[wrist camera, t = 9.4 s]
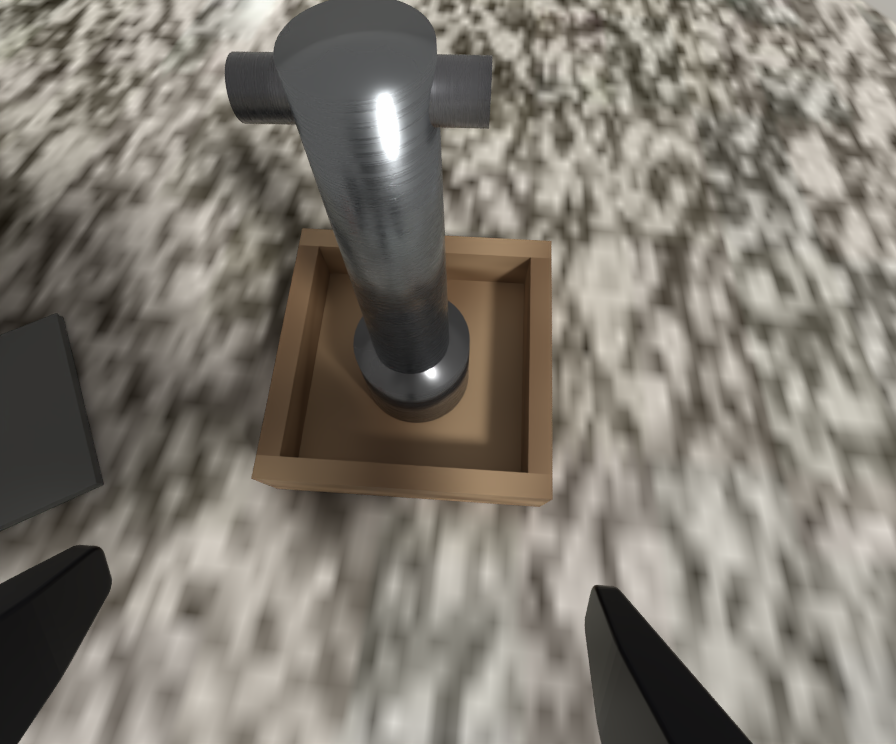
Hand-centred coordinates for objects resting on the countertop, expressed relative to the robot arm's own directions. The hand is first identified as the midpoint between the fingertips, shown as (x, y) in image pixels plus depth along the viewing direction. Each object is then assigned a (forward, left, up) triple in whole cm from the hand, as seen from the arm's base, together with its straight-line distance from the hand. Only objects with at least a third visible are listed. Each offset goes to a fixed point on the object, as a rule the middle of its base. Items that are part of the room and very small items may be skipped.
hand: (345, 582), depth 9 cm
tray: (+3, -7, -9) cm, 12 cm away
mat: (+17, +3, -9) cm, 20 cm away
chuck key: (+3, -7, -9) cm, 11 cm away
